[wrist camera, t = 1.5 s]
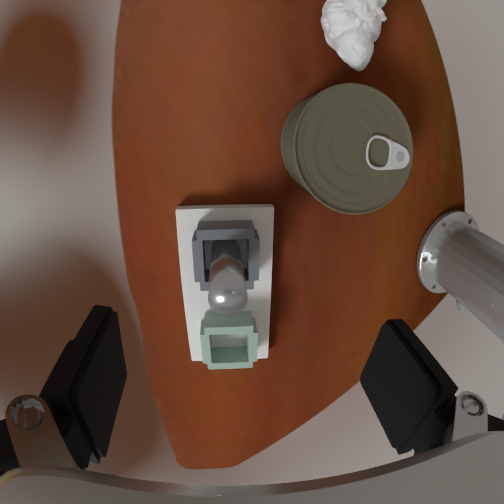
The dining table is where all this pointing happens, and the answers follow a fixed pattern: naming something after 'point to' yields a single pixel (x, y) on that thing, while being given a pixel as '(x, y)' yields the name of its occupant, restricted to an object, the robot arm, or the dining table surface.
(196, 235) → the tool board
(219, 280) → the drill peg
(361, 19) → the bust
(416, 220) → the dining table surface
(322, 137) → the can
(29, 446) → the robot arm
